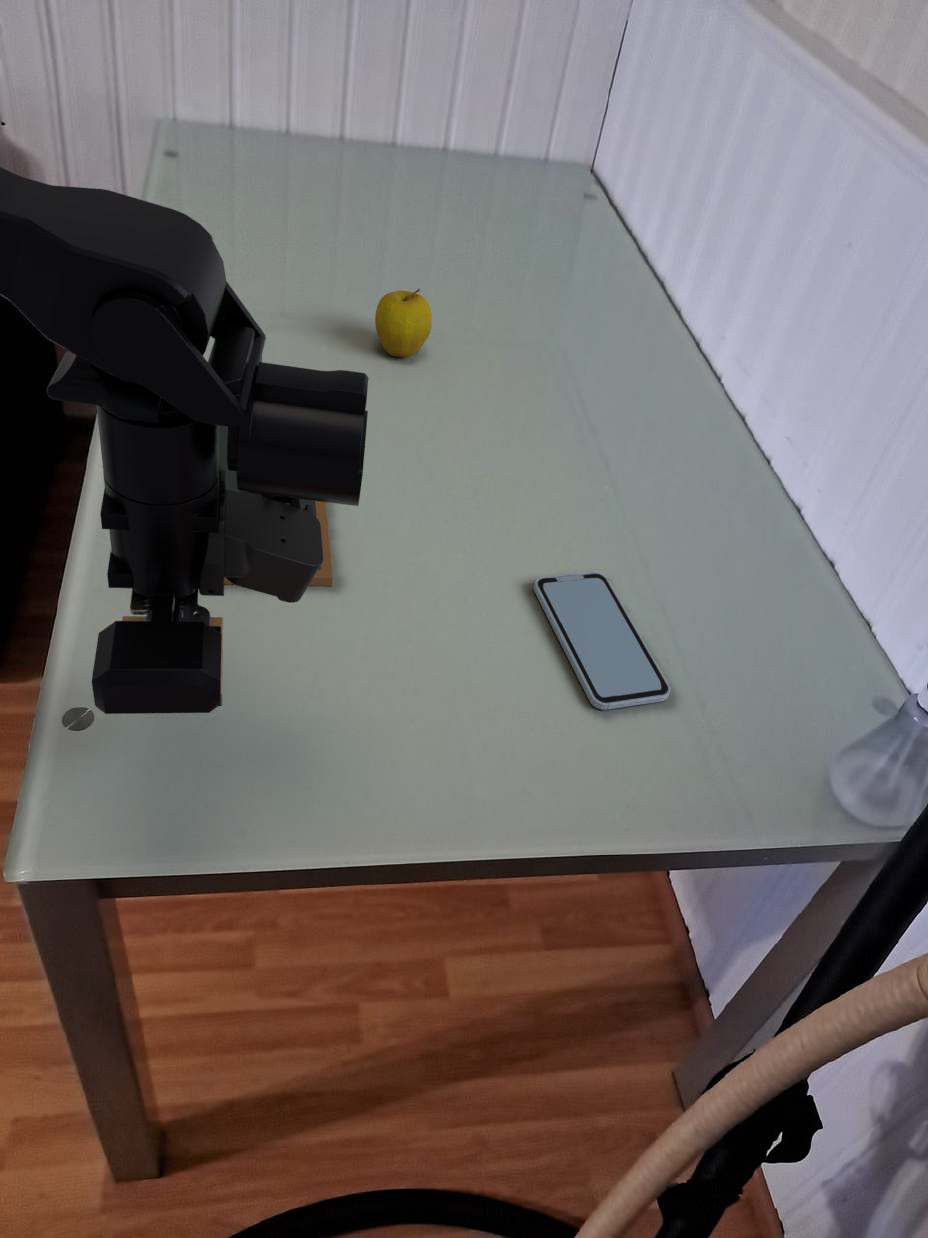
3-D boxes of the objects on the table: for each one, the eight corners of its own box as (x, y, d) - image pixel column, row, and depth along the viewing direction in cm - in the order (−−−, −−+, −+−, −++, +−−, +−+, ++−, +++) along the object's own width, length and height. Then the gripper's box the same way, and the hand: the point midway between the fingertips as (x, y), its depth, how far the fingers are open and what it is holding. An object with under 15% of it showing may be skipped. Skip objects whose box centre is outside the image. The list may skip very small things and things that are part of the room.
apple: (436, 354, 114) (447, 290, 108) (405, 373, 109) (414, 308, 104) (393, 332, 116) (401, 269, 110) (360, 350, 111) (367, 285, 106)
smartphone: (596, 706, 77) (531, 578, 86) (593, 713, 77) (529, 584, 87) (675, 694, 79) (603, 570, 89) (672, 701, 80) (601, 577, 89)
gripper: (329, 599, 45) (308, 792, 56) (311, 383, 58) (297, 574, 69) (76, 595, 42) (105, 798, 53) (115, 370, 55) (133, 570, 66)
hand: (172, 672), depth 60 cm, fingers closed on eraser, 4 cm apart
